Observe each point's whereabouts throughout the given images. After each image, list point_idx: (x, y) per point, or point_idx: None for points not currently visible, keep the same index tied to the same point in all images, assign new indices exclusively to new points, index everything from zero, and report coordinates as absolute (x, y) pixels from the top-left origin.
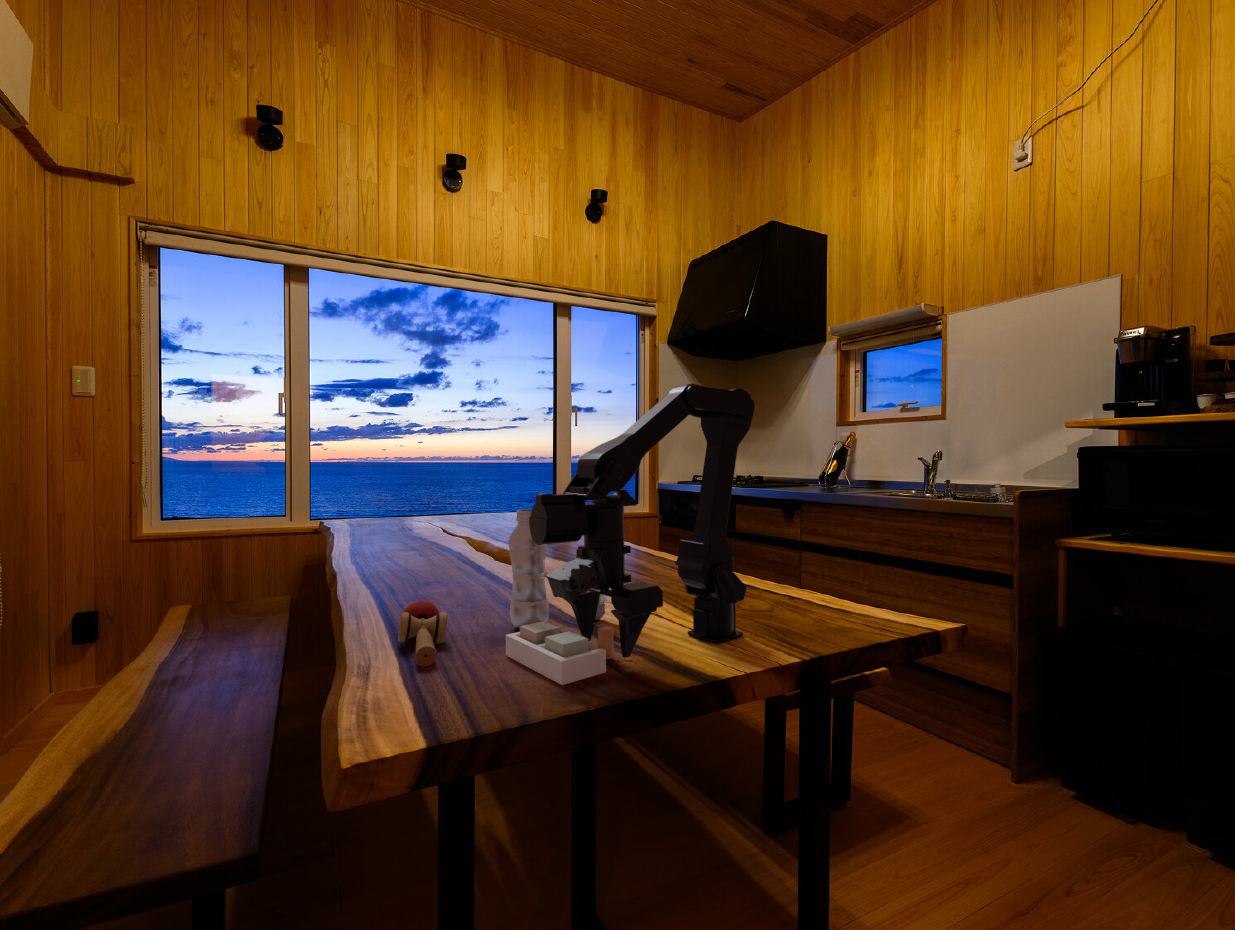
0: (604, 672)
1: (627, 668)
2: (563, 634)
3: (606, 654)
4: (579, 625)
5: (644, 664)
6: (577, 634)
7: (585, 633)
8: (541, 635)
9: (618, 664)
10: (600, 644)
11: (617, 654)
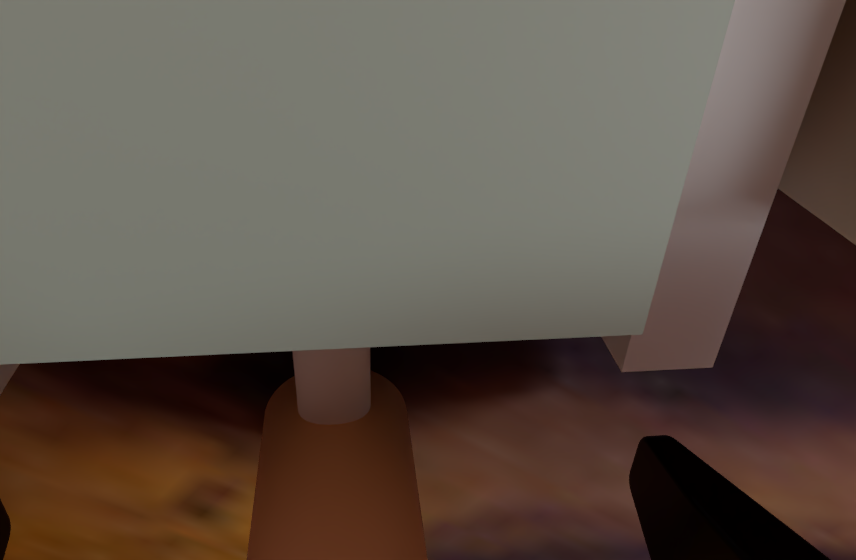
0: None
1: (29, 421)
2: (577, 130)
3: (269, 427)
4: (796, 557)
5: (56, 536)
6: (354, 344)
7: (678, 509)
8: None
9: (167, 416)
10: (313, 474)
11: None
